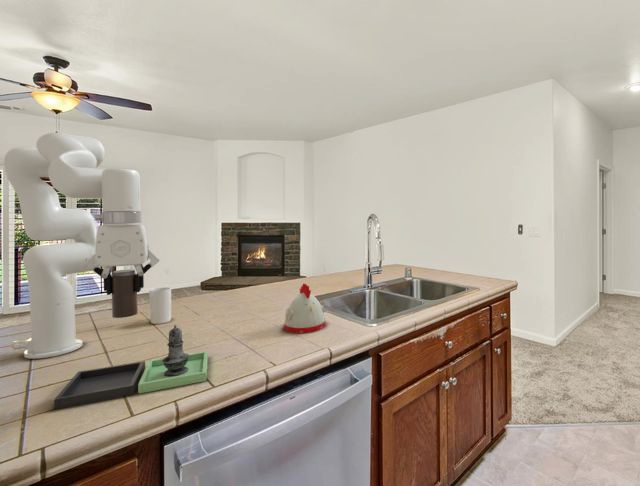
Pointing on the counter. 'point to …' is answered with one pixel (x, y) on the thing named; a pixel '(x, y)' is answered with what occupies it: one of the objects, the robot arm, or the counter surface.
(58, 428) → the counter surface
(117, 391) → the dark tray
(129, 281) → the pepper shaker
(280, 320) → the counter surface
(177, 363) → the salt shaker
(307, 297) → the kitchen timer
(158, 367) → the pale tray
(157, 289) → the mug
